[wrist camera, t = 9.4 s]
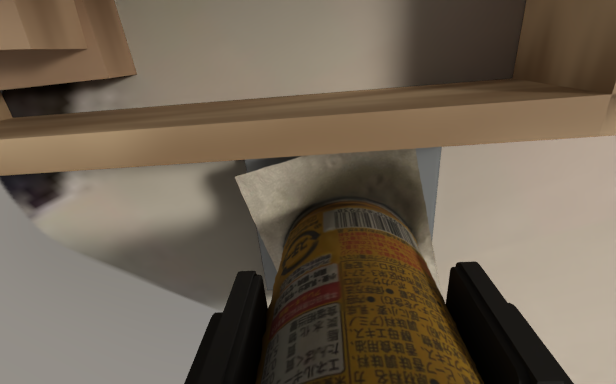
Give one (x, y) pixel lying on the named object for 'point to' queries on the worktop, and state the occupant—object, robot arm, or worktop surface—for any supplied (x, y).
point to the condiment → (352, 274)
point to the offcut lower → (74, 53)
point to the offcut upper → (40, 25)
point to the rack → (353, 110)
